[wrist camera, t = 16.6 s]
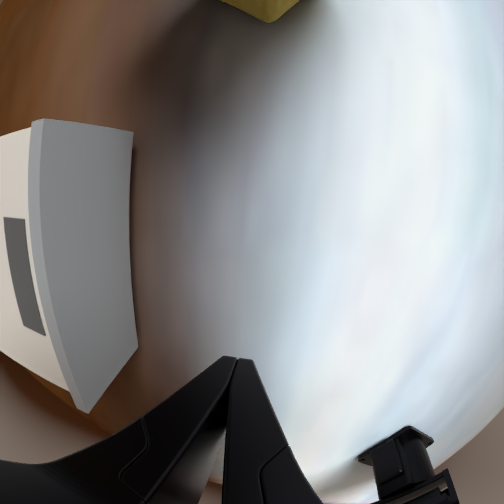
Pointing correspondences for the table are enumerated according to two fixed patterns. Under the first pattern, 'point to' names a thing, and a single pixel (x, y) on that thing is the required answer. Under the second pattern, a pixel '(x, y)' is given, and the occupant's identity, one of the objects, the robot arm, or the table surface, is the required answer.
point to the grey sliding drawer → (83, 249)
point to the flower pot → (263, 8)
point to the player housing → (21, 268)
